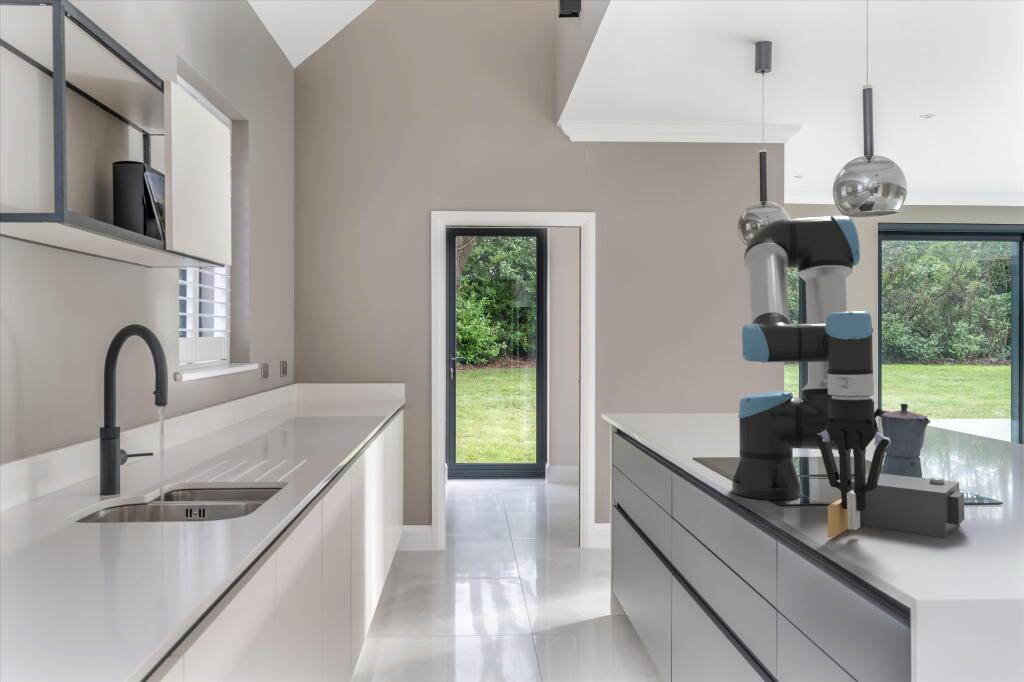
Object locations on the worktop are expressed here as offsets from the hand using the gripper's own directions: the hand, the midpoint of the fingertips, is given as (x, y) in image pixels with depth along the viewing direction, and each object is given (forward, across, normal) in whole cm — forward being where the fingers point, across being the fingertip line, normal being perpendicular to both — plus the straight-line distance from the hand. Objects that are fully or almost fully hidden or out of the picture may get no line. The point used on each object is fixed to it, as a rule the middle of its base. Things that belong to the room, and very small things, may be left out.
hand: (854, 527), depth 129 cm
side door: (+2, -3, +3) cm, 4 cm away
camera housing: (+2, +5, +16) cm, 17 cm away
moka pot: (+3, -4, +49) cm, 49 cm away
